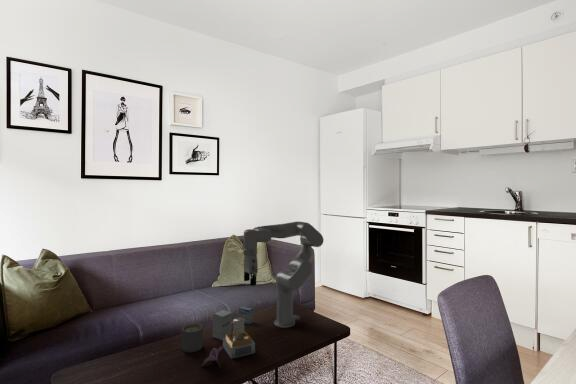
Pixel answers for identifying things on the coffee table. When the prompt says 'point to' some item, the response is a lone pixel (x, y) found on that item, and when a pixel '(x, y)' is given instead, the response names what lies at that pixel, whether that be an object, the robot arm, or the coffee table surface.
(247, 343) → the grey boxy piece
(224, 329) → the supplement box
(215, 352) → the lily
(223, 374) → the coffee table surface
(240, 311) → the medicine box
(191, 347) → the coffee mug
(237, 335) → the spout can
